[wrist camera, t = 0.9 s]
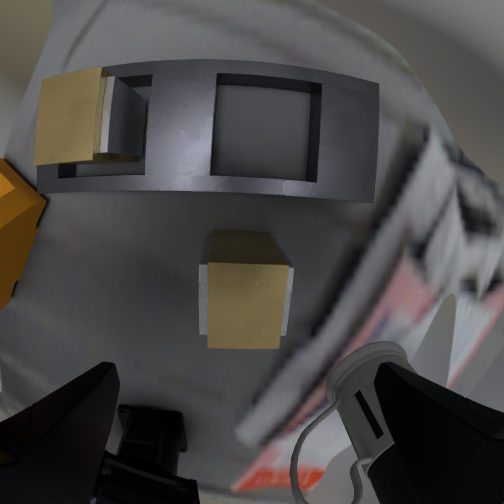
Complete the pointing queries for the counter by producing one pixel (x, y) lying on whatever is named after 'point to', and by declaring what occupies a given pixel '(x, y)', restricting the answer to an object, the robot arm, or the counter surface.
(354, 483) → the glass holder
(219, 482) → the counter surface
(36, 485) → the robot arm
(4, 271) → the bracket
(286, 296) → the gold metal block
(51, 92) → the tan-capped ribbed block
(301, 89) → the tray
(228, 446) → the counter surface
